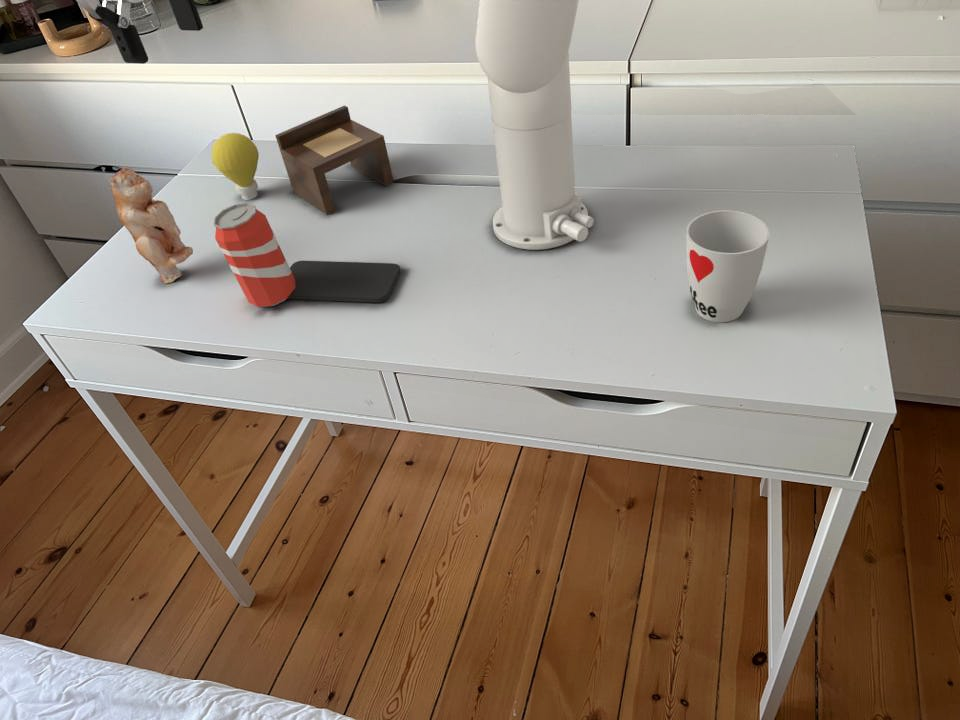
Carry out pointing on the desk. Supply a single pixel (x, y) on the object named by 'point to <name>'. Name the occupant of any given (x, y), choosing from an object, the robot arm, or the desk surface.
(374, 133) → the miniature wooden desk
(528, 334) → the desk surface
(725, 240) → the cup
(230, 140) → the light bulb
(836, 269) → the desk surface
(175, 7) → the robot arm
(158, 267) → the figurine
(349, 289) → the phone
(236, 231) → the beverage can
